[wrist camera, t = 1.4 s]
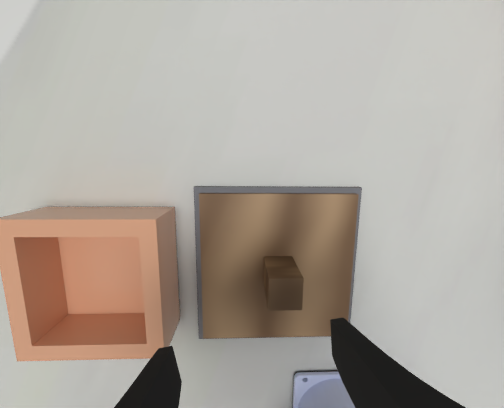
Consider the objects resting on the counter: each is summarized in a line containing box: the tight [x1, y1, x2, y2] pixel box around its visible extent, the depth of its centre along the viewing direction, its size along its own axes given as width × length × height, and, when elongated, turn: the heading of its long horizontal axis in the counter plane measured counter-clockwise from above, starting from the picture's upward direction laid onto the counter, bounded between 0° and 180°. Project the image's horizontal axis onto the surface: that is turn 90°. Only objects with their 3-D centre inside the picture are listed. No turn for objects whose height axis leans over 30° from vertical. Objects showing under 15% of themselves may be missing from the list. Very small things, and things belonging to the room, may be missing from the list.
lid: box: [199, 193, 359, 338], centre depth 19 cm, size 13×13×5 cm
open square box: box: [0, 207, 180, 361], centre depth 19 cm, size 10×10×4 cm
